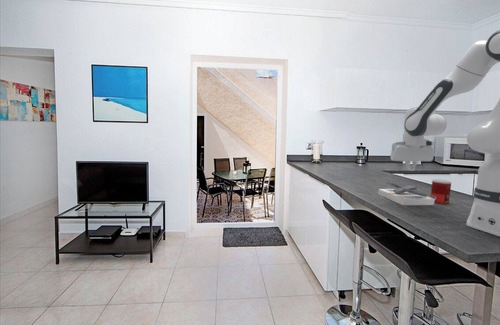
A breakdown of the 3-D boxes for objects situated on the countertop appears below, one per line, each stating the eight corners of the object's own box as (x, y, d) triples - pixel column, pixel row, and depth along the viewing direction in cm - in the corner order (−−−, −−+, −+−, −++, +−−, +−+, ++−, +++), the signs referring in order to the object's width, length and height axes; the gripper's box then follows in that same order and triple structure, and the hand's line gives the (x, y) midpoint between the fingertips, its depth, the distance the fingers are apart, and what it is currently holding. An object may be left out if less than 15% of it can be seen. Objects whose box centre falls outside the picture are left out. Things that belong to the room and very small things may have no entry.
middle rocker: (416, 189, 147) (416, 186, 147) (398, 193, 147) (398, 191, 146) (411, 187, 152) (410, 185, 152) (393, 191, 151) (393, 189, 151)
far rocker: (407, 191, 155) (408, 189, 155) (391, 185, 153) (392, 183, 153) (402, 189, 159) (402, 187, 159) (386, 183, 158) (387, 181, 157)
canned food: (448, 205, 140) (451, 183, 139) (429, 202, 145) (431, 180, 144) (449, 202, 146) (451, 180, 145) (430, 199, 151) (433, 178, 150)
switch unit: (433, 205, 140) (434, 198, 139) (403, 205, 138) (403, 198, 138) (404, 194, 162) (405, 188, 161) (378, 194, 160) (378, 188, 159)
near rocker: (426, 197, 141) (426, 194, 141) (408, 192, 139) (408, 190, 139) (419, 195, 145) (420, 192, 145) (402, 190, 144) (403, 188, 144)
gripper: (396, 141, 135) (394, 171, 137) (437, 142, 137) (434, 171, 139) (388, 141, 141) (386, 169, 143) (427, 141, 143) (425, 169, 145)
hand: (410, 170), depth 141 cm, fingers closed
